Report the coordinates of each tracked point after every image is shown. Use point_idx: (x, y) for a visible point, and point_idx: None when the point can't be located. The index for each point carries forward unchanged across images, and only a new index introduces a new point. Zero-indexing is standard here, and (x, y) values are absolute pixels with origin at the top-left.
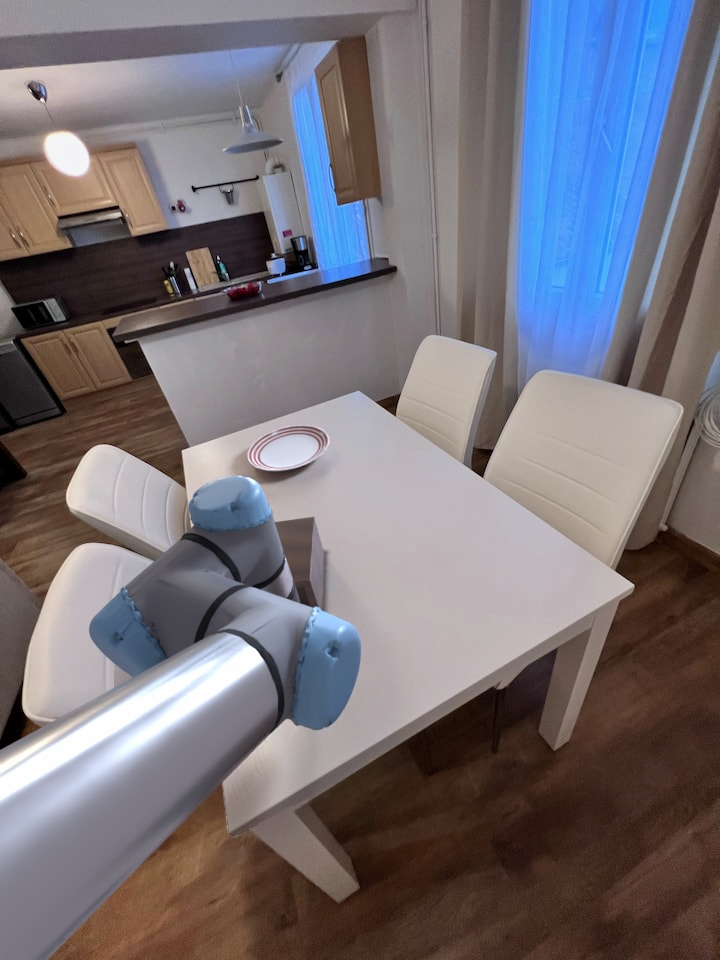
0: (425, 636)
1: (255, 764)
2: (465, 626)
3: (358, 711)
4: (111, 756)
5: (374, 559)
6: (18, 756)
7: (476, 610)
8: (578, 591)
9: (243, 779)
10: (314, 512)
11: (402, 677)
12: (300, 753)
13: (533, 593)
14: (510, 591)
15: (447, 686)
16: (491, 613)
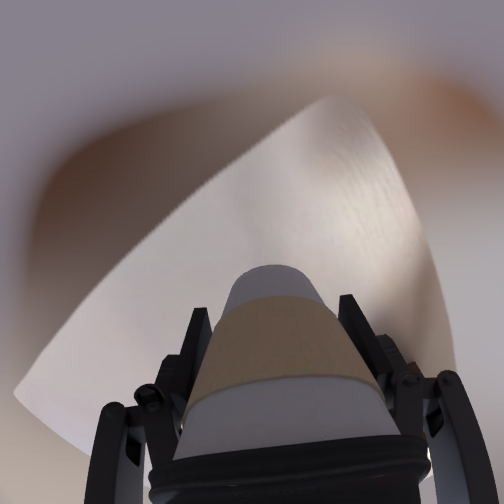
0: (125, 383)
1: (349, 166)
2: (89, 388)
3: (179, 281)
4: None
5: None
6: None
7: (87, 401)
8: (29, 398)
9: (361, 141)
10: None
11: (130, 335)
12: (267, 195)
13: (53, 405)
14: (70, 411)
15: (74, 325)
16: (73, 396)
